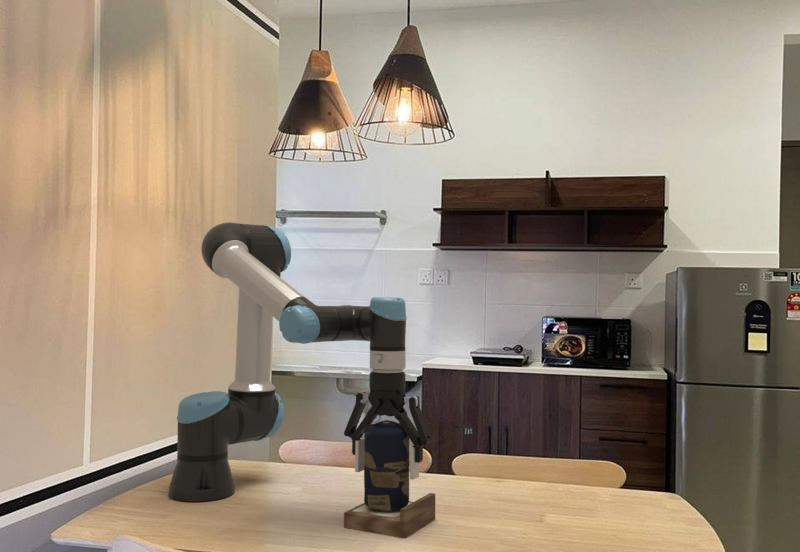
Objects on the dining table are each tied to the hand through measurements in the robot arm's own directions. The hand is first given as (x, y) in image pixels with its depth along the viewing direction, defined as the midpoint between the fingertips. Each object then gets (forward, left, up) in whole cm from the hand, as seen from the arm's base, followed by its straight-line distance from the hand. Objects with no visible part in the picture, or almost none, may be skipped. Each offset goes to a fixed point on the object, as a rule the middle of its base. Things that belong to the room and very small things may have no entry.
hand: (386, 474), depth 154 cm
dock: (+1, 0, -10) cm, 10 cm away
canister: (0, 0, -7) cm, 7 cm away
